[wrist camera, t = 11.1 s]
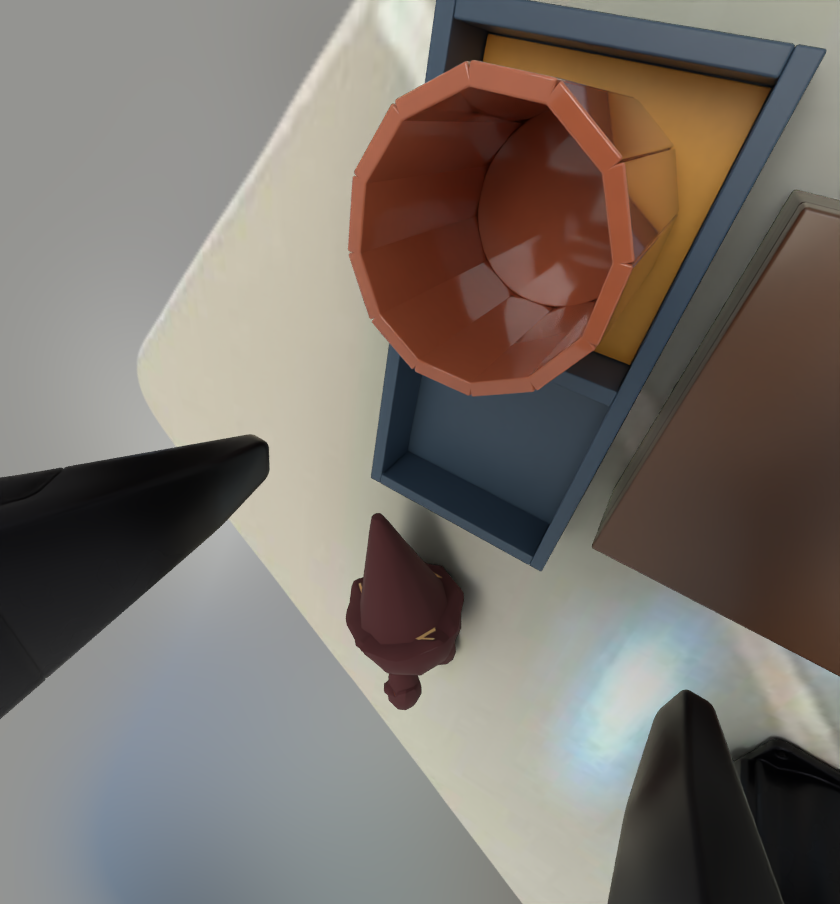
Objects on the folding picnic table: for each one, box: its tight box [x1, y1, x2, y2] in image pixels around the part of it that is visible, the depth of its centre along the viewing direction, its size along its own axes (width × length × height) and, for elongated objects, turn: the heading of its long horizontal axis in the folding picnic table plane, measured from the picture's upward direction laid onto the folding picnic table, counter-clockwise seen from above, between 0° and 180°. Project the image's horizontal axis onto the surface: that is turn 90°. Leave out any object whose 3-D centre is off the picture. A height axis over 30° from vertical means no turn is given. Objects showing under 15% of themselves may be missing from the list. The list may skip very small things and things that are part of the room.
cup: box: [348, 60, 679, 397], centre depth 13 cm, size 7×7×8 cm
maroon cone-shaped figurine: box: [346, 513, 464, 710], centre depth 28 cm, size 7×7×15 cm
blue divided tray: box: [371, 0, 826, 571], centre depth 18 cm, size 9×18×3 cm, turn 169°
